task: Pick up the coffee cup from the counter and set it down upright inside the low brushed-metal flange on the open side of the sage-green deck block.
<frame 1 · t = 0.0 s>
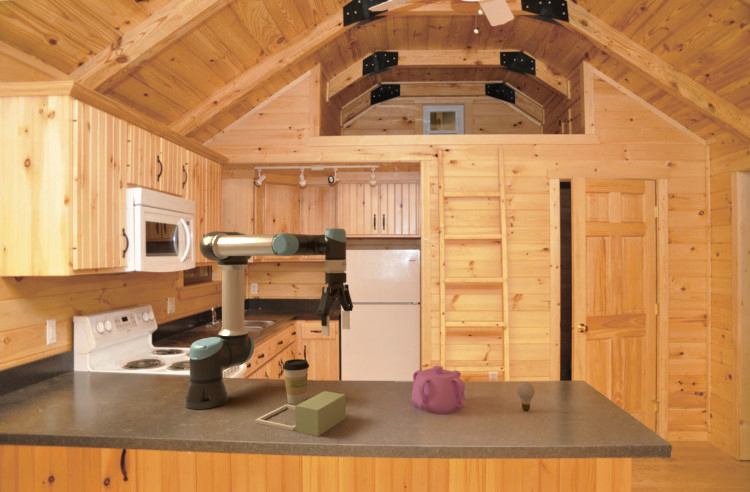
hand: (336, 332, 157), 28 cm above the worktop, fingers open, 13 cm apart
teapot: (440, 405, 163), on the worktop
coffee cup: (296, 402, 167), on the worktop
mower deck: (303, 421, 148), on the worktop
light bulb: (526, 411, 156), on the worktop
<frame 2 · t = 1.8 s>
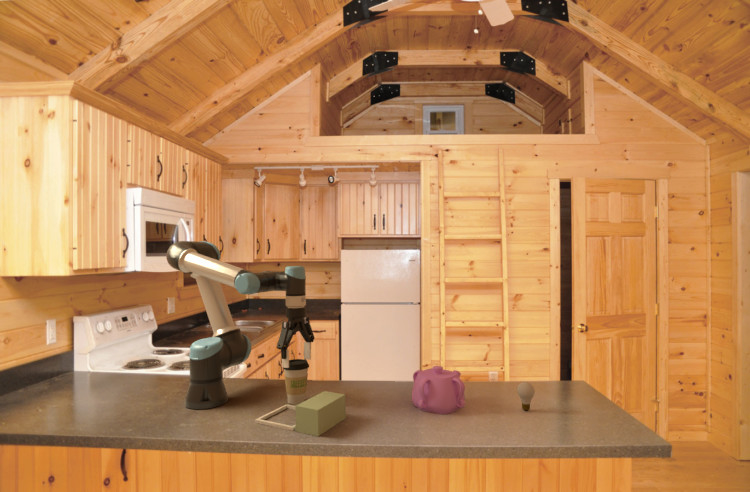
hand: (296, 363, 167), 14 cm above the worktop, fingers open, 13 cm apart
nothing on the worktop moved.
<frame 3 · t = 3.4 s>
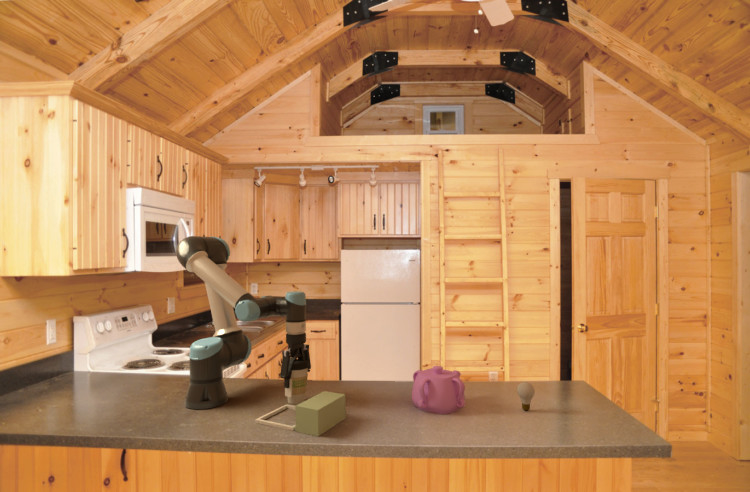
hand: (296, 392, 167), 3 cm above the worktop, fingers closed on coffee cup, 9 cm apart
coffee cup: (296, 402, 167), on the worktop, touching gripper
everything else where it was.
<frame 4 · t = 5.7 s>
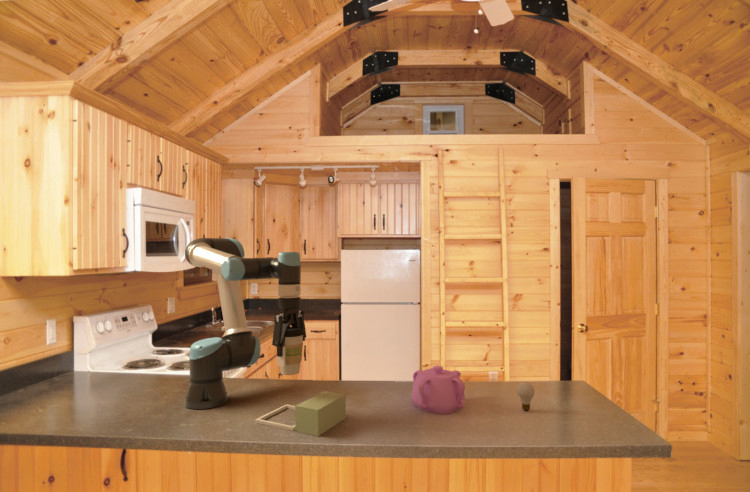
hand: (290, 362, 152), 19 cm above the worktop, fingers closed on coffee cup, 9 cm apart
coffee cup: (290, 373, 152), point 15 cm above the worktop, touching gripper
everything else where it was.
when the fingers open (4 cm above the worktop, at t = 8.1 s): coffee cup moves 3 cm, resting in mower deck.
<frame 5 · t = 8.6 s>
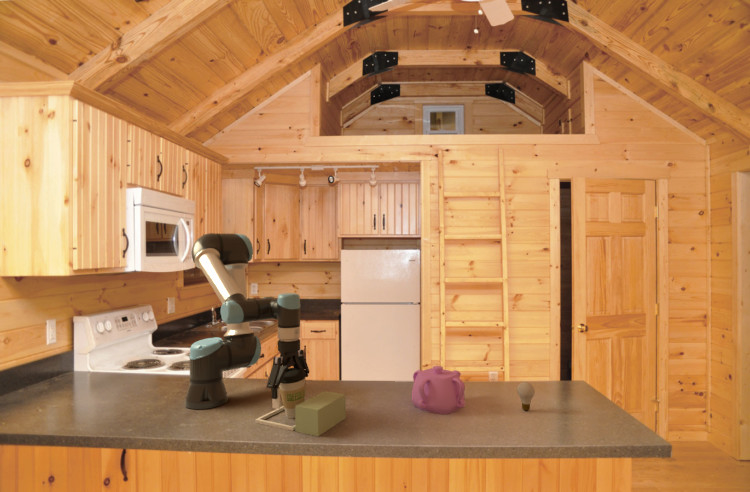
hand: (289, 401, 151), 5 cm above the worktop, fingers open, 13 cm apart
coffee cup: (295, 414, 154), resting in mower deck, touching gripper
everything else where it was.
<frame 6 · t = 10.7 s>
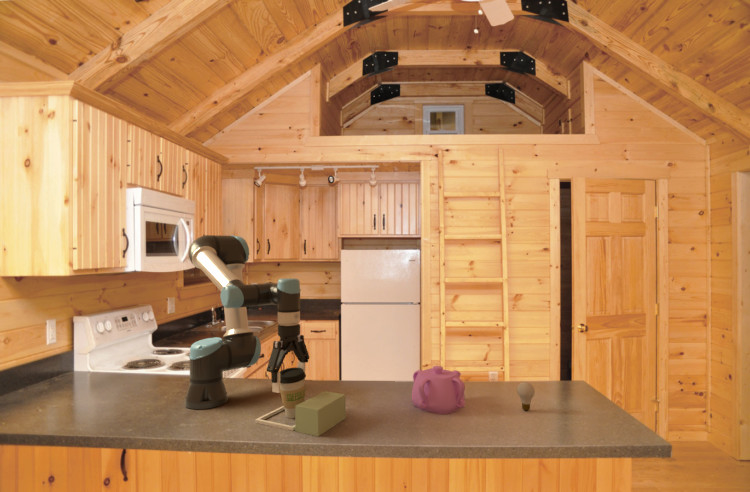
hand: (289, 386, 151), 11 cm above the worktop, fingers open, 13 cm apart
nothing on the worktop moved.
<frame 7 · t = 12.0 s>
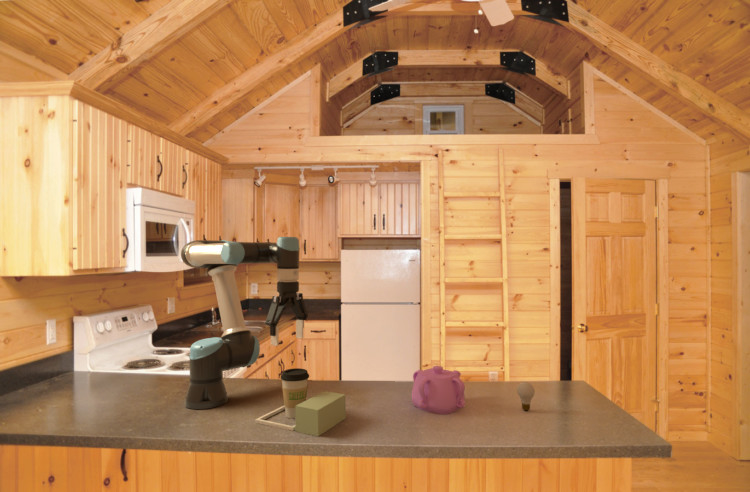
hand: (287, 341, 155), 25 cm above the worktop, fingers open, 13 cm apart
coffee cup: (295, 415, 153), resting in mower deck
everything else where it was.
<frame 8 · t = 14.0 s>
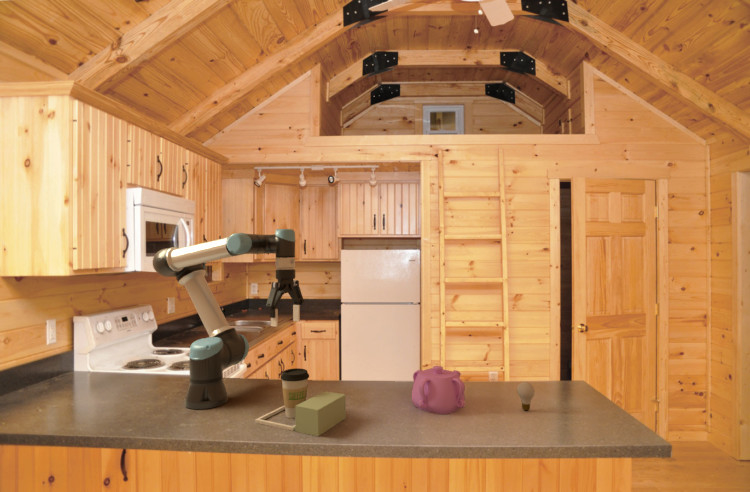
hand: (285, 323, 172), 29 cm above the worktop, fingers open, 13 cm apart
nothing on the worktop moved.
at the end: coffee cup inside the target area on the mower deck (3.1 cm from its centre), point 0.0 cm above the mower deck's base; coffee cup tilted 0°; the gripper is holding nothing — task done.
